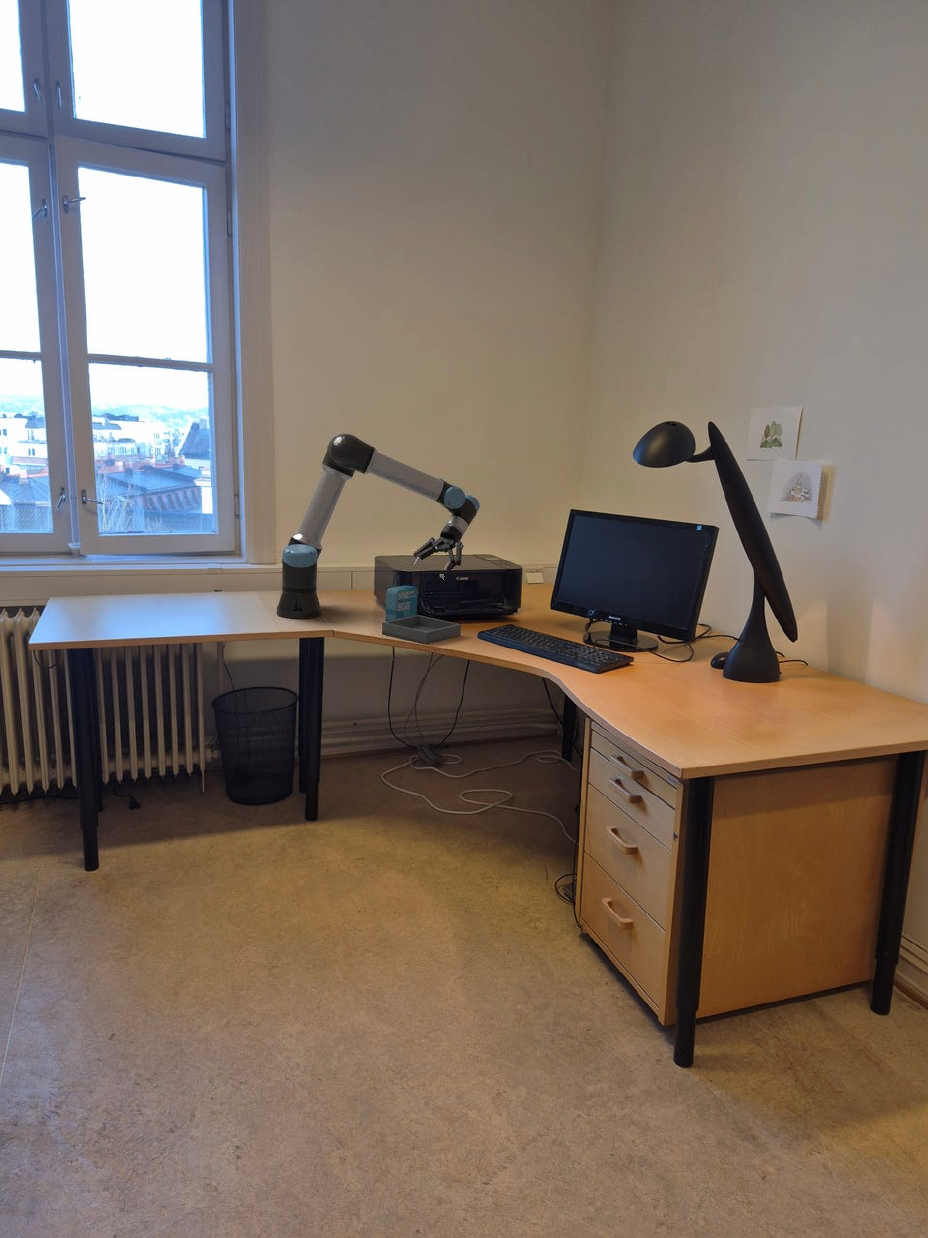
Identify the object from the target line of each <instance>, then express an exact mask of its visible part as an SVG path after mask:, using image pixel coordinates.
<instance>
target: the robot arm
mask: <svg viewBox="0 0 928 1238" xmlns="http://www.w3.org/2000/svg"><path fill="white" fill-rule="evenodd" d="M326 448H327V449H326V452H325V454H324V457H323V460H322V462H321V468H322V469H323V470H322V474H321V476H320V479H319V481H318V483H317V486H316V488H315V491H314V493H313V495H312V498H311V499H310V502H309V505H308V507H307V510H306V513H305V515H304V517H303V519H302V522H301V524H300V527H299V528H298V531H297V532H296V533H295V534H292V535H291V536H290V539H289V541H288V544H287V545H286V546H285V547H284V548H283V549H282V553H281V564H282V566H281V570H282V571H281V572H282V576H281V577H282V578H281V579H282V580H281V587H282V589H281V594H280V598H279V601H278V604H277V606H276V615H277V616H279V617H282V618H283V617H284V618H289V619H312V618H318V617H320V616H321V615H322V606H321V604H320V601H319V597H318V593H317V592H318V591H317V589H318V586H317V585H318V580H317V579H318V577H317V576H318V560H319V557H320V555H321V553H322V550H323V546H322V544H321V542H322V539H323V537H324V534H325V532H326V530H327V528H328V525H329V523H330V520H331V518H332V515H333V513H334V511H335V508H336V506H337V503H338V501H339V500H340V499H339V498H340V496H341V494H342V493H343V492H342V491H343V489H344V487H345V485H346V482H347V481H348V480H351V479H353V477H354V475H355V472H358V473H361V474H363V475H367V474H370V475H373V476H375V477H378V478H381V479H383V480H385V481H387V482H389V483H392V484H395V485H396V486H399V487H401V488H404V489H406V490H408V491H411V492H414V493H415V494H417V495H420V496H422V497H424V498H427V499H429V500H431V501H434V502H436V503H438V504H440V505H441V506H442V507H443V508H444V509H445V510H447V511H448V512H449V513H450V514H452V515H450V517H449V519H448V520H447V521H446V524H445V526H444V527H443V529H442V530H441V531H440V535H439V537H438V538H437V539H435V538H434V536H432V537H430V538H429V540H428V541H426V542H425V543H424V544H423V545H422V546H420V547H419V548H418V549H417V550H416V551H414V552H413V553H412V555H413V556H414V558H415V559H414V560H413V562H412V563H411V565H413V564H414V565H415V564H420V563H421V564H423V560H425V559H426V558H428V557H430V556H432V555H434V554H437V553H439V552H440V553H446V554H448V557H449V561H448V562H447V563H446V564H445V566H444V568H443V569H444V570H446V569H447V570H451V569H453V570H454V568H455V567H457V566H458V567H460V566H461V565H462V557H463V556H462V554H463V553H462V552H463V549H464V544H463V542H462V541H461V540H462V538H463V536H464V534H465V533H466V531H467V529H468V528H469V527H470V525H471V523H472V522H473V520H474V519H475V517H476V516H477V514H478V512H479V510H480V507H481V504H480V502H479V500H478V499H477V498H476V497H475V496H472V495H471V494H465V491H464V490H463V489H462V488H461V487H459V486H456V485H453V484H450V483H448V482H447V481H445V480H444V479H443V478H440V477H439V478H438V477H435V476H433V475H430V474H428V473H426V472H424V471H421V470H419V469H417V468H415V467H412V466H410V465H407V464H405V463H403V462H402V461H401V462H400V461H399V460H396V459H394V458H392V457H389V456H388V455H385V454H383V453H381V452H378V450H377V449H376V447H374V446H372V445H371V444H369V443H366V442H364V441H363V440H362V439H360V438H359V437H357V436H355V435H354V434H351V433H350V434H349V433H341V434H337V435H335V436H334V437H332V438H331V439H330V441H329V443H328V445H327V447H326ZM453 549H455V555H454V550H453ZM439 577H440V578H442V579H443V580H444V577H445V576H444V574H441V573H440V574H439ZM442 579H441V580H442ZM444 581H445V580H444Z"/></svg>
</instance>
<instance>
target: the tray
mask: <svg viewBox="0 0 928 1238" xmlns="http://www.w3.org/2000/svg"><path fill="white" fill-rule="evenodd" d="M461 630H462V623H456V622H451V621H449V620H448V621H447V620H442V619H439V618H438V619H437V618H433V617H428V616H424V615H419V614H416V616H411V617H406V618H401V619H397V620H392V621H387V622H386V621H383V622H382V623H381V635H384V636H386V637H387V636H389V637H393V638H396V639H400V640H403V641H409V642H413V643H417V644H420V645H421V644H422V645H426V646H427V645H430V644H431V645H432V644H435V643H438V642H442V641H446V640H449V639H453V638H457V637H461V633H462V631H461Z"/></svg>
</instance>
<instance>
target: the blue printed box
mask: <svg viewBox="0 0 928 1238" xmlns="http://www.w3.org/2000/svg"><path fill="white" fill-rule="evenodd" d="M418 591H419V590H418V587H416V586H411V585H407V586H406V585H400V586H399V585H398V586H394V587H389V588H388V589H387V590H386V593H385V595H386V596H385V597H386V598H385V618H384V619H385V622H387V621H392V620H397V619H401V618H406V617H411V616H416V615H418V613H417V611H418V593H419V592H418Z"/></svg>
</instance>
